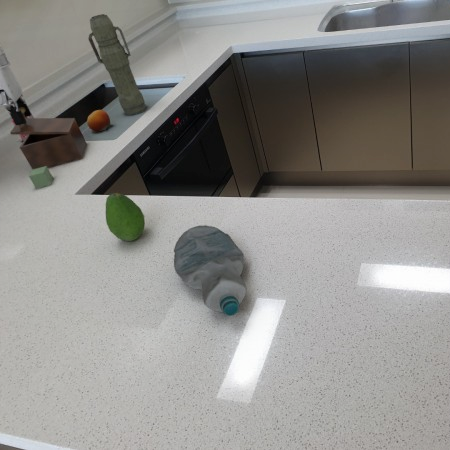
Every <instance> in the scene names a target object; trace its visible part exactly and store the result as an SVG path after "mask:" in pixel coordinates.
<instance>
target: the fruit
mask: <svg viewBox="0 0 450 450" xmlns="http://www.w3.org/2000/svg"><path fill="white" fill-rule="evenodd" d="M86 123H87V127H88V128H89V129H90V130H91V131H93V132H95V133H98V132H102V131H107V128H108V127H110V126H111V127H113V126H114V125H112V124H111V119H110V116H109V114H108V113H107V112H106V111H105V110H102V109H97V110H96V109H95V110H94V111H92V112H91V113H90V114H89V115H88V116H87V121H86Z"/></svg>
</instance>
